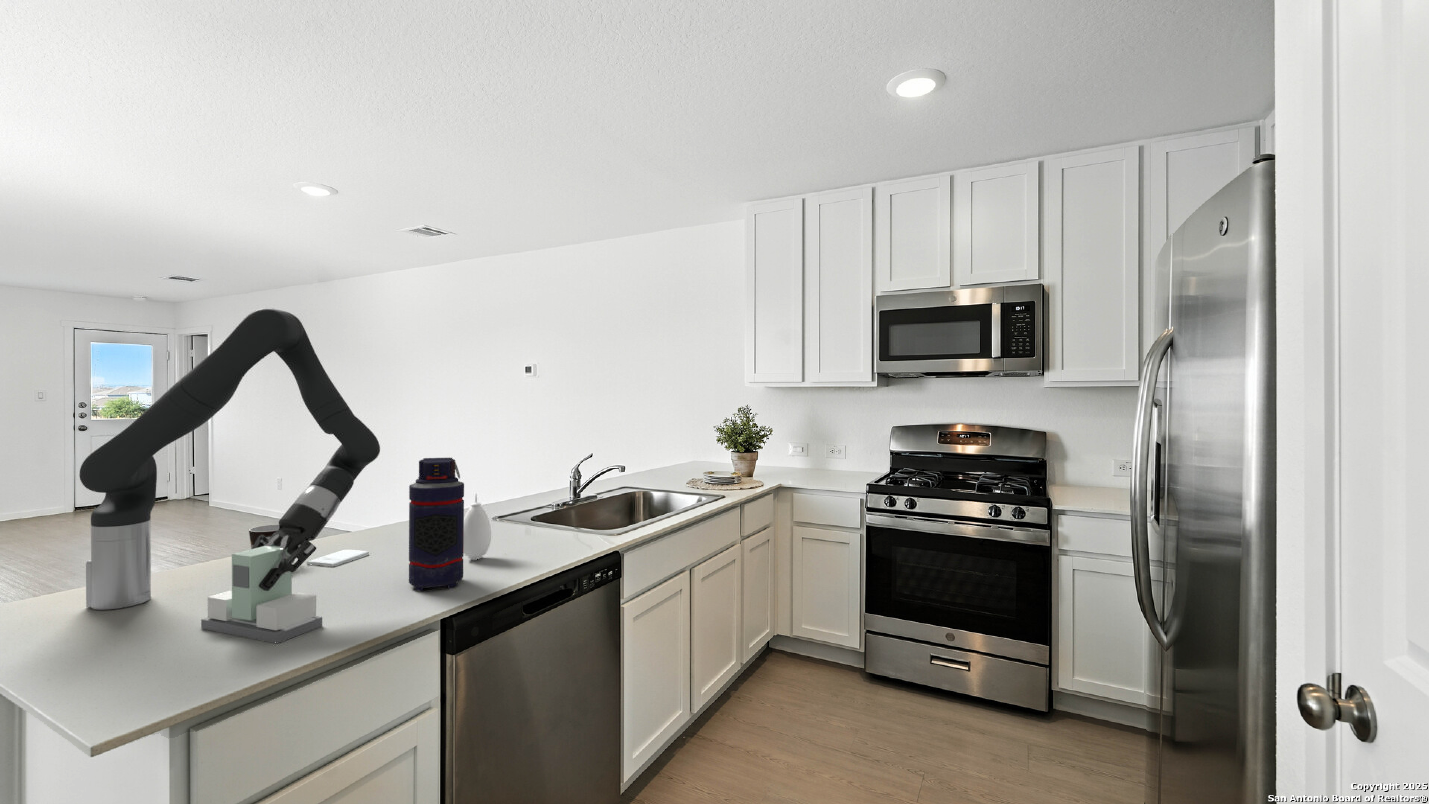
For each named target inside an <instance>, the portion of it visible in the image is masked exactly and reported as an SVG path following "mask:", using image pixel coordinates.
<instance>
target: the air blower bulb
mask: <svg viewBox="0 0 1429 804" xmlns="http://www.w3.org/2000/svg"><path fill="white" fill-rule="evenodd" d="M474 498H475V499H474V502H472V503H471V504H470V507H469V508H468V510H467V511H466V513H465V514H464V556H466V557H468V559H470V560H472V561H478V560H479V559H481V558H483V556H485V555H486V554H487V553H488V550H489V548H490V545H491V543H492V529H491V528H492V526H491V523H490V520H489V519H490V518H489V517H488V514H487V513H486V510H485V509H484V508H483V506H482V503H481V502H478V495H477V493H475V497H474ZM477 559H478V560H477Z"/></svg>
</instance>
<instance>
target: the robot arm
mask: <svg viewBox="0 0 1429 804" xmlns="http://www.w3.org/2000/svg"><path fill="white" fill-rule="evenodd" d="M274 352H275V354H277V356H278V357H279V358H280V359H281V360H282V361H283V362H284V363H285V364H286V366H287V367H288V369H289V370H290V372H291V373H292V375H293V377H294V379H295V381H296V384H297V387H298V391H299V393H300V396H301V398H302V401H303V403H304V405H305V407H306V409H307V410H308V412H309V413H310V414H311V416H312V418H313V419H314V421H315V422H316V423H317V425H318V426H319V428H320V429H321V430H322V432H324V433H325V434H327V435H333V436H334V437H335V439H337V441H338V442H339V443H340V445H339V447H338V448H337V449H336V451H335V452H334V453H333V454H332V456H331V457H330V459H329V460H328V462H327V464H326V465H325V467H324V468H323V469H322V470H321V471H320V472H319V474H317V476H316V477H315V478H314V479H313V481H312V482H311V483H310V484H309V485H308V486H307V488H305V489H304V491H303V492H302V493H301V494H299V496H298V497H297V498H296V499H295V501H294V502H293V503H292V504H291V506H290V507H289V508H288V509H287V510H286V512H285V513H284V514H283V515H282V516H281V518H280V519H279V520H278V524H279V530H278V531H276V532H275V533H274V534H273V535H272V536H270V537H265V536H264V535H260V536H259V537H258V538H257V540H256V542H255V543H254V545H253V547H252V548H251V547H250V549H255V548H259V547H263V546H268V547H270V546H280V548H284V549H283V550H282V551H281V552H280V554H279V558H278V560H277V561H276V562H275V564H274V566H273V568H274V569H272V568H271V570H270V571H269V572H268V573H267V575H266V576H265V577H264V579H263V580H262V581H261V582H260V584H259V587H260V588H262V589H263V590H264V591H269V590H270V589H271V588H272V587H273V586H274V584H275V583H276V582H277V580H278V579H279V578H280V577H281V575H282V574H285V573H286V572H288V571H290V572H292V573H295V572H296V571H297V569H299V568H300V567H301V566H302V565H303V564H304V562H306V561H307V560H308V559H309V557H310V556H312V554H314V552H316V550H317V546H315V544H313V543H312V542H313V541H314V540H316V538H317V537H318V536H319V535H320V533H321V531H322V530H323V529H324V528H325V527H326V525H327V524H328V522H329V521H330V520H331V518H332V517H333V516H334V514H335V513H336V512H337V510H338V508H339V506H340V504H341V503H342V502H343V500H344V499H345V498H346V497H347V495H348V494H349V492H350V491H351V490H352V488H353V486H354V483H355V480H356V479H357V477H358V476H359V475H360V474H361V473H362V471H363V470H364V469H365V468H366V467H367V466H368V465H369V464H371V463H373V462H374V461H375V460H376V459H378V457H379V456H380V452H381V446H380V445H381V444H380V442H379V440H378V438H377V436H376V435H375V433H373V431H372V430H371V429H370V428H369V427H368V426H367V425H366V424H365V423H364V422H362V420H360V418H358V417H357V416H356V415H355V414H354V413H353V411H352V409H351V408H350V406H349V405H348V403H347V401H345V399H344V398H343V396H342V395H341V393H340V392H339V391H338V388H337V387H336V385H335V384H334V383H333V381H332V380H331V378H330V377H329V375H328V373H327V372H326V370H325V368H324V367H323V365H322V363H321V360H320V359H319V356H318V355H317V353H316V351H315V349H314V346H313V345H312V343H311V341H310V337H309V336H308V333H307V332H306V329H305V327H304V325H303V323H302V322H301V319H300V318H298V317H297V316H296V315H295V314H292V313H291V312H288V311H285V310H280V309H275V308H270V307H269V308H268V307H265V308H258V309H257V310H254V311H252V312H250V313H249V314H248V315H246V317H244V318H243V320H241V322H240V323H238V325H237V326H236V327H235V329H234V330H233V331H231V333H230V334H229V335H228V336H227V337H226V339H225V340H224V341H222V343H221V344H220V345H219V346H217V348H216V349H215V350H213V351H212V352H211V353H209V355H207V356H206V357H205V358H204V359H203V360H201V361H200V362H199V363H197V365H196V366H194V367H193V368H192V369H191V370H190V371H188V372H187V373H186V374H184V375H183V377H181V378H180V379H179V380H178V381H176V382H175V383H174V384H173V385H172V386H170V388H169V389H168V390H166V391H165V392H164V394H162V395H161V396H160V397H159V398H158V399H157V400H156V401H154V403H153V404H151V405H150V406H149V407H148V408H147V409H146V410H144V412H143V413H141V414H140V415H139V416H138V417H137V418H136V419H135V420H134V421H133V422H132V423H131V424H130V425H129V426H127V427H126V428H125V429H124V430H122V431H121V432H120V433H118V434H117V435H115V436H114V437H112V438H111V439H110V440H108V441H107V442H105V443H104V444H103V445H101V446H100V447H98V448H96V449H95V450H94V451H92V453H90V454H89V455H88V456H87V457H86V458H85V459H84V460H83V462H82V463H81V466H80V468H79V480H80V483H81V484H82V486H83V487H85V489H87V490H89V491H91V492H95V493H103V494H104V495H105V496H104V499H103V500H102V502H101V503H100V504H99V505H98V506H97V507H96V508H95V509H93V511H92V512H91V514H90V560H88V561H86V563H85V601H86V602H85V607H86V608H91V609H93V610H102V611H104V610H116V609H123V607H124V608H129V607H133V606H136V605H137V606H138V605H140V604H143V603H145V602H148V601H150V600H151V598H152V596H151V595H152V591H151V590H152V588H151V587H152V584H151V583H152V567H151V566H152V564H151V563H152V562H151V561H152V554H151V553H152V551H151V549H152V544H151V543H152V540H151V538H152V537H151V534H152V533H151V527H152V526H151V520H152V519H151V513H152V511H153V508H154V506H155V504H156V497H157V482H158V481H157V479H158V468H157V466H158V465H157V462H156V459H155V457H154V455H156V454H157V453H158V452H159V451H160V450H162V449H163V448H164V447H166V446H168V445H170V444H171V443H173V442H176V441H177V440H179V439H181V438H182V437H184V436H186V435H188V434H189V433H191V432H193V431H195V430H196V429H198V428H200V427H201V426H203V425H204V424H206V422H208V421H209V420H210V419H212V418H213V416H216V414H217V413H218V412H219V411H220V410H222V409H223V408H224V407H225V406H226V405H227V404H228V403H229V402H230V401H231V399H232V398H233V396H234V394H235V392H236V391H237V389H238V387H239V385H240V383H241V381H242V380H243V377H245V376H246V374H247V373H248V372H249V371H250V370H251V369H252V368H253V367H254V366H255V365H256V364H258V363H259V362H260V361H262V360H263V359H264V358H266V357H267V356H268V355H270V354H272V353H274ZM287 547H288V548H287ZM286 549H287V552H288V553H289V554H290V556H289V557H288V556H287V555H286V554H285V551H286ZM296 559H297V560H296ZM283 560H284V562H283ZM282 562H283V563H282Z"/></svg>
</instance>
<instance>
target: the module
mask: <svg viewBox="0 0 1429 804" xmlns="http://www.w3.org/2000/svg"><path fill="white" fill-rule="evenodd" d="M287 548H288V547H287ZM283 549H284V548H280V546H270V547H268V546H263V547H259V548H255V549H251V548H250V549H247V550H242V551H238V552H234V553H231V590H232V617H235V618H240V619H246V620H254V619H257V605H260V604H263V603H266V602H269V601H272V600H275V599H278V598H281V597H284V596H287V595H290V594H293V590H292V589H293V588H292V587H293V586H292V584H293V577H292V575H293V572H290V571H288V572H286V573H285V574H282V575H281V577H280V578H279V579H278V580H277V582H276V583H275V584H274V586H273V587H272V588H271V589H270V590H269V591H264V590H263V589H262V588H260V587H259V584H260V582H261V581H262V580H263V579H264V577H265V576H266V575H267V573H268V572H269V571H270V570H271V568H272V569H274V568H273V566H274V564H275V562H276V561H277V560H278V558H279V554H280V552H281V551H282V550H283ZM285 554H286V555H287V556H288V557H289V556H290V554H289V553H288V552H287V549H286V551H285ZM283 562H284V560H283ZM283 562H282V563H283Z"/></svg>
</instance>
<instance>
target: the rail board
mask: <svg viewBox="0 0 1429 804" xmlns="http://www.w3.org/2000/svg"><path fill="white" fill-rule="evenodd" d="M200 621H201V623H200V625H201V626H200V629H201V628H203V629H202V630H206V629H207V630H206V631H211V630H212V631H211V632H217V633H221V634H226V633H227V635H231V634H232V635H231V636H236V637H241V636H243V637H242V638H246V637H247V638H248V639H253V640H256V639H259V640H258V641H261V640H263V642H267V643H272V642H274V643H273V644H277V643H278V644H280V643H279V642H281V643H283V642H285V641H284V640H286V639H288V640H291V639H293V638H295V637H294V636H296V637H298V636H300V634H301V635H303V634H306V633H309V632H311V631H313V629H314V630H315V628H316V629H319V628H321V627H323V616H319V615H317V595H316V594H308V593H304V592H303V593H302V592H294V593H292V594H290V595H287V596H284V597H281V598H278V599H275V600H272V601H269V602H266V603H263V604H260V605H257V619H254V620H246V619H240V618H235V617H232V589H230V590H227V591H224V592H220V593H217V594H213V595H210V596H207V617H205V618H201V619H200ZM310 630H311V631H310ZM308 631H309V632H308ZM302 633H303V634H302ZM292 637H293V638H292ZM247 638H246V639H247ZM290 638H291V639H290ZM282 641H283V642H282ZM286 641H287V640H286ZM275 642H276V643H275Z"/></svg>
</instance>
